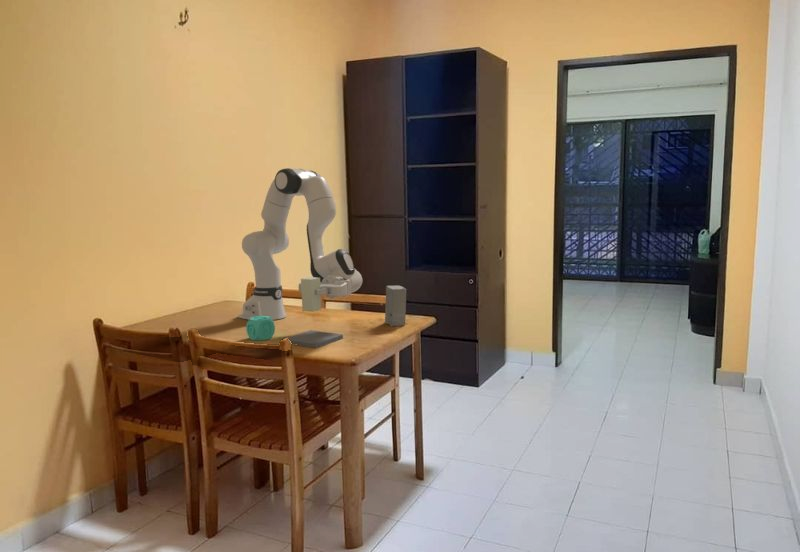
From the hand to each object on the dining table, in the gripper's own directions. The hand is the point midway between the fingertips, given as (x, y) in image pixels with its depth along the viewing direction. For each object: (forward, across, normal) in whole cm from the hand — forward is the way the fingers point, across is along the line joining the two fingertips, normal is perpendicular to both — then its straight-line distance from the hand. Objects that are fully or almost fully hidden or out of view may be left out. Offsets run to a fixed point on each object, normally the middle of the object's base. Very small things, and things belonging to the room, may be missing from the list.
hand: (309, 291), depth 227 cm
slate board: (-1, 0, +19) cm, 19 cm away
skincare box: (-39, +13, +19) cm, 45 cm away
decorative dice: (+5, -21, +19) cm, 29 cm away
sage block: (-1, 0, +7) cm, 7 cm away
